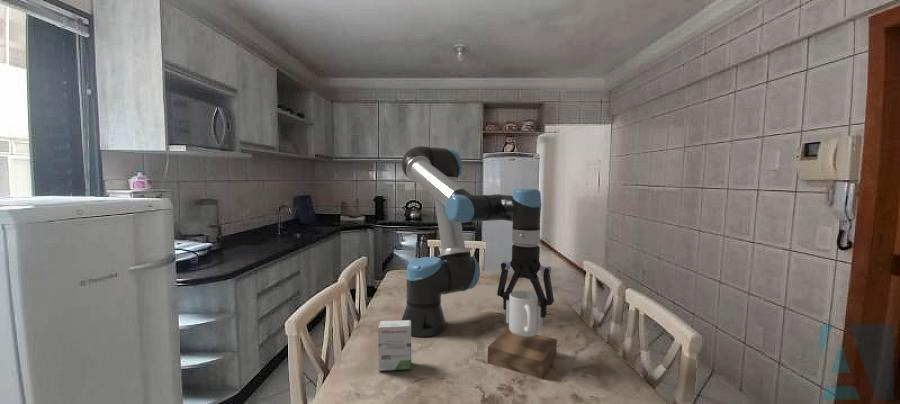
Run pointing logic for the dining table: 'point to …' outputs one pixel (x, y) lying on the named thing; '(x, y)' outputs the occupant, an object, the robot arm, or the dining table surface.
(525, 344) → the walnut block
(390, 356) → the ink box
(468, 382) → the dining table surface
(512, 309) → the mug
